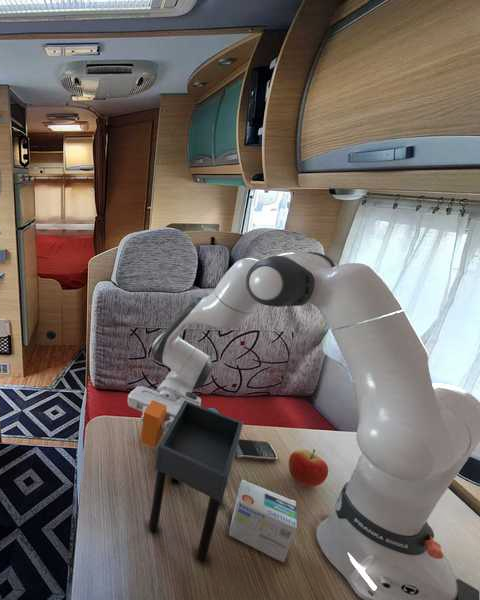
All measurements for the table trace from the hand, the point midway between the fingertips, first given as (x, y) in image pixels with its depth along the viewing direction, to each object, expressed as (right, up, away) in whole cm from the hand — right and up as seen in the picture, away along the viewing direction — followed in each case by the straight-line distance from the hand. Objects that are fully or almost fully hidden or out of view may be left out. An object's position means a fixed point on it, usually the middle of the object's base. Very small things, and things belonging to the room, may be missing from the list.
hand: (152, 424), depth 87 cm
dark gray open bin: (+6, 0, -18) cm, 19 cm away
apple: (+38, -14, -3) cm, 40 cm away
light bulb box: (+19, -18, -16) cm, 31 cm away
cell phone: (+30, -10, +6) cm, 32 cm away
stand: (+5, -16, -12) cm, 21 cm away
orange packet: (0, -5, +3) cm, 6 cm away
